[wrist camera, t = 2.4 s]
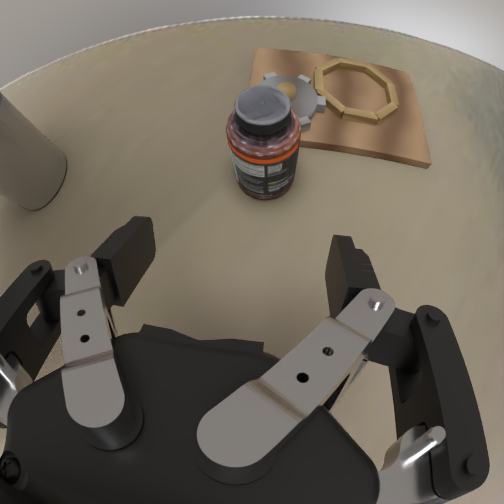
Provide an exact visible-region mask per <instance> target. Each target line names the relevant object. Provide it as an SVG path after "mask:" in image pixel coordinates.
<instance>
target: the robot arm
mask: <svg viewBox="0 0 504 504" xmlns="http://www.w3.org/2000/svg"><path fill="white" fill-rule="evenodd" d="M66 165H67V164H66V158H65V155H64V154H63V153H62V152H61V151H60V150H59V149H58V148H57V147H56V146H55V145H54V144H53V143H52V142H51V141H50V140H49V139H48V138H47V137H46V136H44V135H43V134H42V133H41V132H40V131H39V130H38V129H37V128H36V127H35V126H34V125H33V124H32V123H31V122H30V121H29V120H28V119H27V118H26V117H25V116H24V115H23V114H22V113H21V112H19V111H18V110H17V109H16V108H15V107H14V106H13V105H12V104H11V103H10V102H9V101H8V100H7V99H6V98H5V97H4V96H3V95H2V94H1V93H0V194H2V195H3V196H5V197H7V198H9V199H10V200H12V201H14V202H15V203H17V204H19V205H21V206H23V207H24V208H26V209H28V210H37V209H40V208H42V207H43V206H45V205H46V204H47V203H48V202H49V201H50V200H51V199H52V198H53V197H54V196H55V194H56V193H57V191H58V190H59V188H60V186H61V184H62V182H63V179H64V176H65V173H66ZM155 252H156V247H155V240H154V232H153V224H152V220H151V218H150V217H141V216H134V217H133V218H132V219H131V220H130V221H129V222H128V223H127V224H126V225H125V226H122V227H120V228H119V229H117V230H115V231H114V232H113V233H112V234H111V235H110V236H109V238H107V239H106V240H105V241H104V243H102V244H101V245H100V246H99V248H98V249H97V250H96V251H95V252H94V253H93V254H92V255H91V256H90V257H89V256H84V257H79V258H76V259H74V260H72V261H71V262H70V263H68V265H67V266H66V268H65V270H56V271H53V270H52V267H51V264H50V262H49V261H47V260H40V261H36V262H34V263H32V264H30V265H29V266H28V267H27V268H26V269H25V270H24V271H23V272H22V273H21V274H20V275H19V276H18V278H17V279H16V280H15V281H14V282H13V283H12V284H11V286H10V287H9V288H8V289H7V290H6V291H5V293H4V294H3V295H2V296H1V297H0V428H7V434H6V441H5V447H4V451H3V454H2V456H1V458H0V504H444V503H446V502H449V501H451V500H453V499H456V498H458V497H460V496H462V495H464V494H467V493H469V492H471V491H473V490H475V489H477V488H478V487H480V486H481V485H482V484H483V483H484V481H485V480H486V478H487V476H488V473H489V467H490V464H489V456H488V451H487V445H486V440H485V435H484V430H483V426H482V421H481V417H480V413H479V409H478V405H477V401H476V398H475V394H474V391H473V387H472V384H471V381H470V377H469V374H468V371H467V368H466V365H465V362H464V359H463V356H462V354H461V351H460V348H459V345H458V343H457V340H456V337H455V335H454V332H453V330H452V327H451V325H450V322H449V320H448V318H447V316H446V315H445V314H444V313H443V312H442V311H441V310H440V309H438V308H436V307H434V306H430V305H423V306H420V307H419V308H418V309H417V311H416V313H415V314H413V313H410V312H406V311H403V310H400V309H398V308H396V307H395V302H394V300H393V298H392V297H391V296H390V295H389V294H387V293H386V292H384V291H382V290H381V289H380V286H379V283H378V280H377V277H376V275H375V272H374V269H373V267H372V265H371V261H370V259H369V256H368V255H367V254H366V253H365V252H364V251H363V250H362V249H355V246H354V243H353V241H352V238H351V237H350V236H341V235H333V238H332V242H331V247H330V251H329V256H328V260H327V265H326V272H325V280H326V287H327V295H328V302H329V310H330V316H328V317H327V318H326V319H324V320H323V321H322V322H321V323H320V324H319V325H318V326H317V327H316V328H315V329H314V330H313V331H312V332H311V333H310V334H309V335H308V336H307V337H305V338H304V339H303V340H302V341H301V342H300V343H299V344H298V345H297V346H296V347H295V348H293V349H292V350H291V351H290V352H289V353H288V354H287V355H286V356H284V357H283V358H282V359H279V358H277V357H275V356H273V355H271V354H269V353H266V352H263V346H264V342H255V341H246V340H238V339H221V340H196V339H194V338H191V337H189V336H186V335H184V334H181V333H179V332H176V331H174V330H171V329H167V328H161V327H156V326H151V325H146V324H143V326H142V328H141V330H140V332H138V333H129V334H124V335H121V336H118V333H117V329H116V326H115V322H114V318H113V314H112V311H111V307H112V305H117V306H122V307H123V306H124V305H125V303H126V302H127V300H128V298H129V297H130V295H131V294H132V292H133V290H134V289H135V287H136V286H137V284H138V283H139V281H140V280H141V278H142V277H143V275H144V274H145V272H146V270H147V269H148V267H149V266H150V264H151V263H152V261H153V260H154V257H155ZM35 302H36V304H37V306H38V309H39V311H40V314H39V315H38V316H37V318H36V319H35V321H34V322H33V324H32V325H31V326H30V328H29V326H28V324H27V319H26V318H27V314H28V312H29V310H30V309H31V307H32V306H33V305H34V303H35ZM60 334H61V335H62V347H63V358H64V366H62V367H60V368H59V369H57V370H55V371H53V372H51V373H49V374H48V375H46V376H44V377H42V378H40V379H39V380H37V381H35V382H34V380H35V378H36V376H37V375H38V373H39V371H40V369H41V367H42V365H43V364H44V362H45V360H46V358H47V356H48V355H49V353H50V351H51V349H52V348H53V346H54V344H55V343H56V341H57V339H58V338H59V336H60ZM368 361H372V362H376V363H379V364H382V365H386V366H388V367H389V374H390V380H391V388H392V395H393V403H394V412H395V422H396V433H397V441H396V442H394V443H393V444H392V445H391V446H390V447H389V448H388V450H387V451H386V454H385V458H384V464H383V467H382V469H381V471H377V469H376V467H375V465H374V463H373V461H372V460H371V459H370V458H369V456H368V455H367V454H366V453H365V452H364V451H363V450H362V449H361V448H360V446H359V445H358V444H357V443H356V442H355V441H354V440H353V439H352V437H351V436H350V435H349V434H348V433H347V432H346V431H345V430H344V428H343V427H342V426H341V425H340V424H339V423H338V422H337V420H336V419H335V418H334V417H333V416H332V415H331V411H332V410H333V409H334V408H335V406H336V405H337V404H338V402H339V401H340V399H341V398H342V396H343V395H344V394H345V392H346V391H347V390H348V388H349V387H350V386H351V384H352V383H353V382H354V381H355V379H356V378H357V377H358V375H359V374H360V373H361V371H362V370H363V368H364V367H365V366H366V364H367V363H368Z"/></svg>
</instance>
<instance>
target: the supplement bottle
mask: <svg viewBox="0 0 504 504" xmlns="http://www.w3.org/2000/svg"><path fill="white" fill-rule="evenodd" d="M226 133H227V139H228V144H229V148H230V153H231V157H232V161H233V166H234V170H235V174H236V178H237V181H238V183H239V185H240V187H241V188H242V189H243V190H244V191H245V192H246V193H247V194H249V195H250V196H252V197H255V198H259V199H272V198H275V197H278V196H280V195H282V194H283V193H285V192H286V191H287V190H288V189H289V188H290V186H291V184H292V182H293V179H294V174H295V170H296V163H297V157H298V151H299V145H300V138H301V124H300V120H299V118H298V116H297V114H296V113H295V111H294V110H293V109H292V108H291V102H290V99H289V97H288V96H287V95H286V94H285V93H284V92H283V91H282V90H280V89H278V88H276V87H273V86H267V85H258V86H253V87H250V88H248V89H246V90H244V91H243V92H241V93H240V94H239V95H238V97H237V98H236V101H235V110H234V111H233V112H232V113H231V114H230V116H229V118H228V121H227V126H226Z"/></svg>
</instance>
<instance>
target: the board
mask: <svg viewBox="0 0 504 504" xmlns="http://www.w3.org/2000/svg"><path fill="white" fill-rule="evenodd" d="M258 85H267V86H273V87H276V88H278V89H280V90H282V91H283V92H284V93H285V94H286V95H287V96H288V97H289V99H290V102H291V108H292V109H293V110H294V111H295V113H296V114H297V116H298V118H299V120H300V124H301V138H300V145H299V146H300V147H309V148H317V149H325V150H332V151H339V152H346V153H352V154H358V155H364V156H369V157H375V158H380V159H385V160H390V161H395V162H400V163H405V164H409V165H414V166H418V167H422V168H426V169H427V168H428V167H429V166H430V165H431V159H430V154H429V149H428V144H427V139H426V135H425V130H424V126H423V122H422V118H421V114H420V110H419V107H418V103H417V99H416V96H415V93H414V89H413V86H412V83H411V80H410V77H409V74H408V73H406V72H403V71H399V70H396V69H392V68H388V67H384V66H380V65H376V64H372V63H367V62H363V61H358V60H353V59H348V58H342V57H337V56H330V55H324V54H317V53H309V52H300V51H290V50H277V49H258V48H256V52H255V57H254V62H253V67H252V72H251V78H250V83H249V88H250V87H253V86H258Z"/></svg>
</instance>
